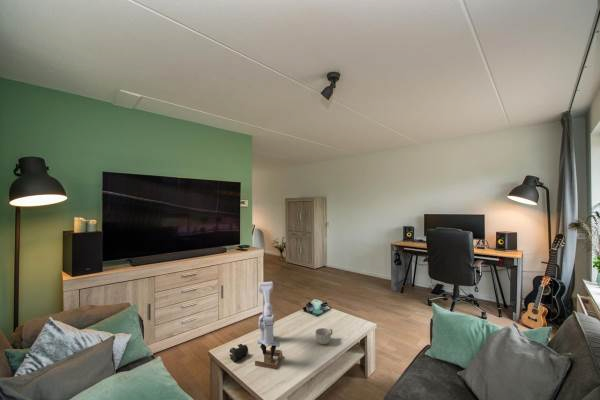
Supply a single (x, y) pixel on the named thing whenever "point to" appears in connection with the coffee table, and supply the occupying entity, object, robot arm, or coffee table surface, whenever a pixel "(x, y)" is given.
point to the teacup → (323, 335)
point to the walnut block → (268, 357)
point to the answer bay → (270, 365)
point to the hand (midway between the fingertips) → (268, 356)
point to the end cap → (238, 352)
